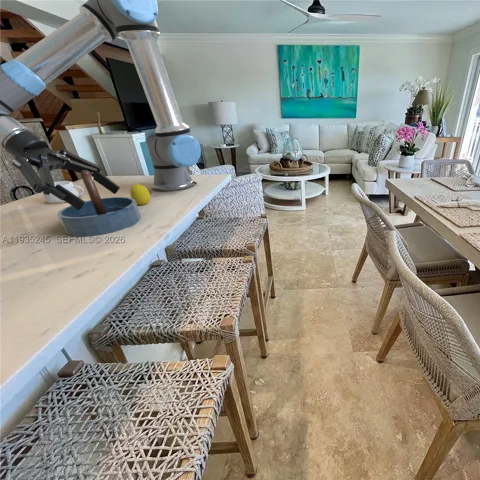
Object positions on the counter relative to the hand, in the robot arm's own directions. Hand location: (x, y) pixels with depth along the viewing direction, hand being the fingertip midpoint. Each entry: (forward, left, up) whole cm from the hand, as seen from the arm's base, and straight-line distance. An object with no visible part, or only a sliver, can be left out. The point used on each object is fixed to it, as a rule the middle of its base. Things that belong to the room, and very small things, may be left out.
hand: (101, 197), depth 74 cm
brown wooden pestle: (+1, -1, -8) cm, 8 cm away
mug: (+12, -40, -9) cm, 43 cm away
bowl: (+1, -1, -9) cm, 9 cm away
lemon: (-10, -14, -9) cm, 19 cm away
